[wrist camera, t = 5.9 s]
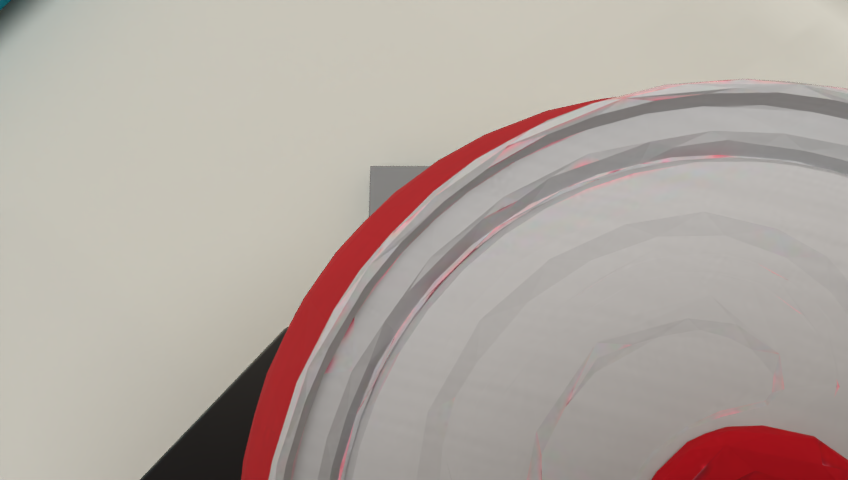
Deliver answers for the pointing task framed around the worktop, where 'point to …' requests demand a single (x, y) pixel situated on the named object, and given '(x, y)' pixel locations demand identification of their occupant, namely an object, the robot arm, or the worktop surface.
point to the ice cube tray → (3, 3)
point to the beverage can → (588, 304)
